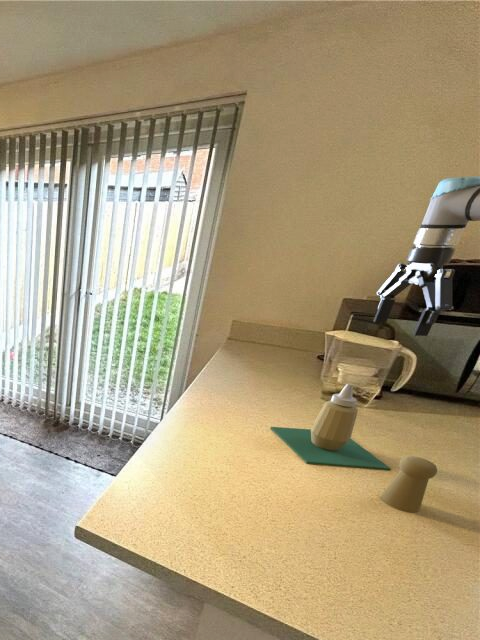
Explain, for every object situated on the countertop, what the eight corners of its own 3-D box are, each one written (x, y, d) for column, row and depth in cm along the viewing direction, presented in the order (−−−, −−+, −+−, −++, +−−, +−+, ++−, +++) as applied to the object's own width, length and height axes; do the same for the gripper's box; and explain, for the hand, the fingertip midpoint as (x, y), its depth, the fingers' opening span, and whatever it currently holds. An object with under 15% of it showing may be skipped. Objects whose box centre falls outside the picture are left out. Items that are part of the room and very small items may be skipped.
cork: (372, 494, 88) (392, 453, 83) (397, 492, 88) (418, 451, 84) (401, 513, 82) (424, 470, 78) (428, 511, 82) (452, 468, 78)
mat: (390, 470, 96) (391, 468, 95) (306, 463, 99) (307, 461, 98) (340, 433, 112) (341, 431, 111) (270, 428, 115) (270, 426, 115)
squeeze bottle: (342, 442, 106) (368, 382, 99) (347, 457, 100) (375, 393, 93) (304, 434, 110) (326, 375, 103) (307, 447, 104) (331, 386, 97)
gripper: (504, 250, 86) (458, 342, 95) (410, 242, 109) (379, 317, 117) (463, 250, 88) (421, 341, 96) (378, 243, 110) (350, 317, 118)
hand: (398, 328), depth 107 cm, fingers open, 13 cm apart
